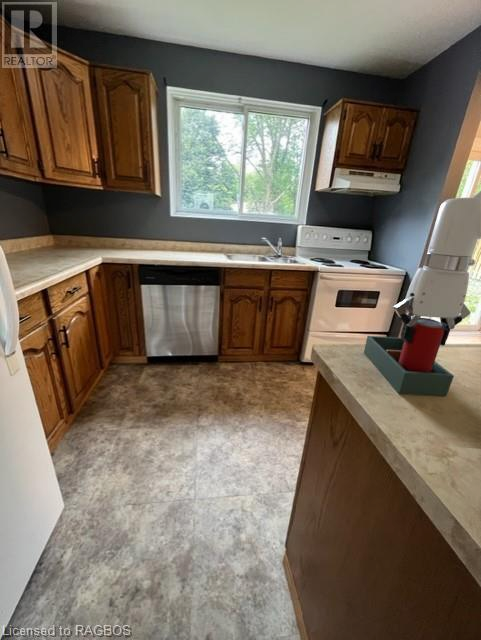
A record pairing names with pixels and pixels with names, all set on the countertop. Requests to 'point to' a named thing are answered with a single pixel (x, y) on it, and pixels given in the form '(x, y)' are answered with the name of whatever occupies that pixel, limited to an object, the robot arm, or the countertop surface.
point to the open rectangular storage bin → (405, 382)
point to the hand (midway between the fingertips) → (422, 341)
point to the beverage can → (422, 346)
